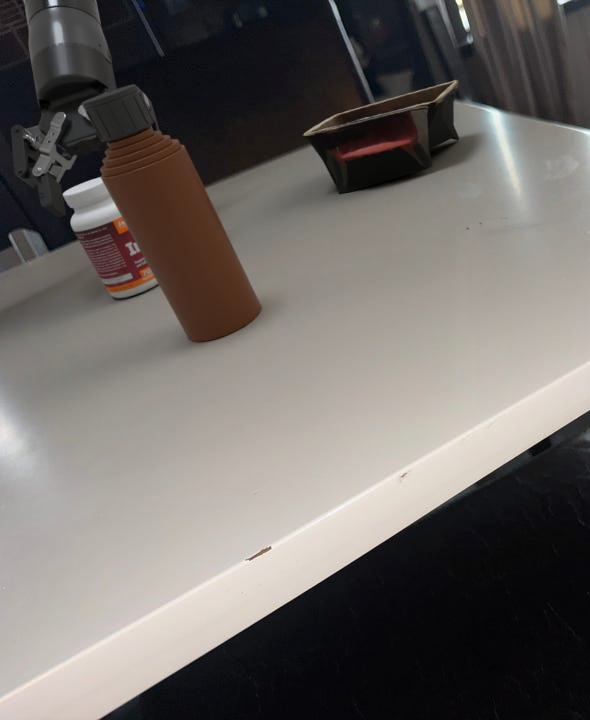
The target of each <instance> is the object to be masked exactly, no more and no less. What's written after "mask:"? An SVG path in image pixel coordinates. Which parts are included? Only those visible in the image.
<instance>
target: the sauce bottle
mask: <svg viewBox="0 0 590 720" xmlns="http://www.w3.org/2000/svg"><path fill="white" fill-rule="evenodd" d="M107 144H108V145H107V146H108V148H106V149H105V150H104V154H105V157H104V158H103V159H102V163H103V165H101V167H100V169H99V171H100V173H101V175H100V177H101V179H102V181H103V183H104V185H105V187H106V189H107V190H108V192H109V194H110V196H111V198H112V200H113V201H114V203H115V205H116V207H117V209H118V211H119V212H120V214H121V216H122V218H123V220H124V222H125V223H126V225H127V227H128V229H129V231H130V233H131V234H132V236H133V238H134V240H135V242H136V244H137V245H138V247H139V249H140V251H141V253H142V255H143V256H144V258H145V260H146V262H147V264H148V266H149V267H150V269H151V271H152V273H153V275H154V276H155V278H156V280H157V282H158V284H157V285H159V287H160V289H161V291H162V293H163V295H164V297H165V299H166V300H167V302H168V304H169V306H170V308H171V309H172V311H173V313H174V315H175V317H176V319H177V320H178V323H179V324H180V326H181V328H182V330H183V332H184V333H185V335H186V338H188V340H190V341H192V342H197V343H203V342H209V341H213V340H216V339H219V338H222V337H225V336H228V335H230V334H232V333H235V332H236V331H238V330H241V329H242V328H244V327H245V326H246V325H248V324H249V323H251V322H252V321H253V320H254V319H255V318H256V317H257V316H258V315H259V314H260V312H261V310H262V304H261V302H260V301H259V300H260V299H259V298H258V296H257V294H256V291H255V290H254V288H253V285H252V284H251V281H250V279H249V278H248V275H247V273H246V271H245V269H244V267H243V265H242V262H241V261H240V258H239V257H238V256H239V255H238V254H237V252H236V250H235V248H234V245H233V244H232V242H231V240H230V237H229V236H228V233H227V231H226V229H225V227H224V225H223V224H222V223H223V222H222V221H221V219H220V217H219V215H218V213H217V211H216V209H215V207H214V205H213V202H212V200H211V198H210V196H209V194H208V192H207V189H206V188H205V185H204V184H203V181H202V180H201V177H200V175H199V173H198V171H197V169H196V167H195V164H194V162H193V160H192V159H191V156H190V154H189V151H187V148H186V146H185V145H184V144H181V142H180V140H179V139H178V138H177V139H176V138H172V137H171V136H170V135H169V134H163V133H162V131H161V130H160V131H154V130H153V128H152V127H151V126H148V127H146V128H144V129H142V130H139V131H137V132H134V133H132V134H129V135H126V136H124V137H121V138H117V139H114V140H110V141H108V142H107Z"/></svg>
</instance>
